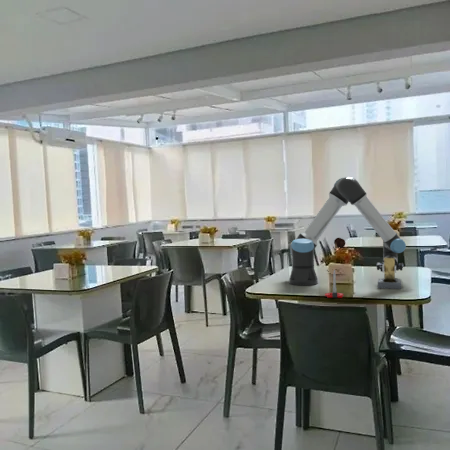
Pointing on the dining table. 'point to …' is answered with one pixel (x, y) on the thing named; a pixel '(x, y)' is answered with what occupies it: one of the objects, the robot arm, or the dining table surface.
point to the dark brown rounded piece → (339, 242)
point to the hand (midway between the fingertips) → (389, 269)
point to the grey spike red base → (334, 290)
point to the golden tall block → (389, 269)
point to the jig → (389, 284)
